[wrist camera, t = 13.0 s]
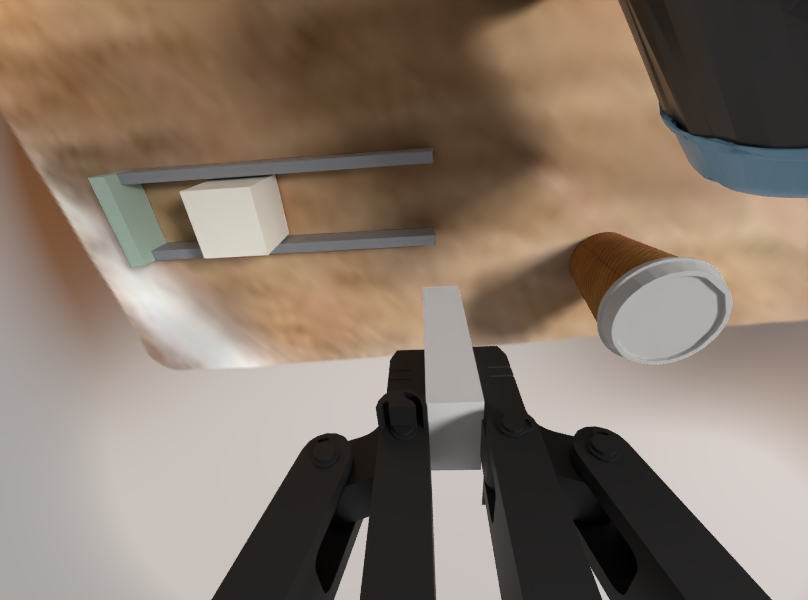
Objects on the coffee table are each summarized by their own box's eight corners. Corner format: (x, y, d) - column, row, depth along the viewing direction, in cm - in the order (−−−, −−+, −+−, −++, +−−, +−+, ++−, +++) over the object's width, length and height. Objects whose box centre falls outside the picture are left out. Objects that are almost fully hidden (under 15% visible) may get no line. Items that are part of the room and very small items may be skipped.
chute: (120, 170, 35) (87, 177, 31) (431, 147, 33) (433, 152, 29) (157, 252, 39) (131, 266, 35) (434, 236, 37) (436, 250, 33)
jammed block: (215, 177, 34) (179, 191, 29) (275, 173, 34) (249, 186, 29) (234, 236, 37) (204, 258, 32) (289, 233, 37) (268, 255, 32)
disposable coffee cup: (653, 280, 38) (740, 347, 28) (564, 310, 41) (615, 383, 30) (641, 200, 34) (739, 243, 24) (544, 239, 37) (594, 294, 26)
